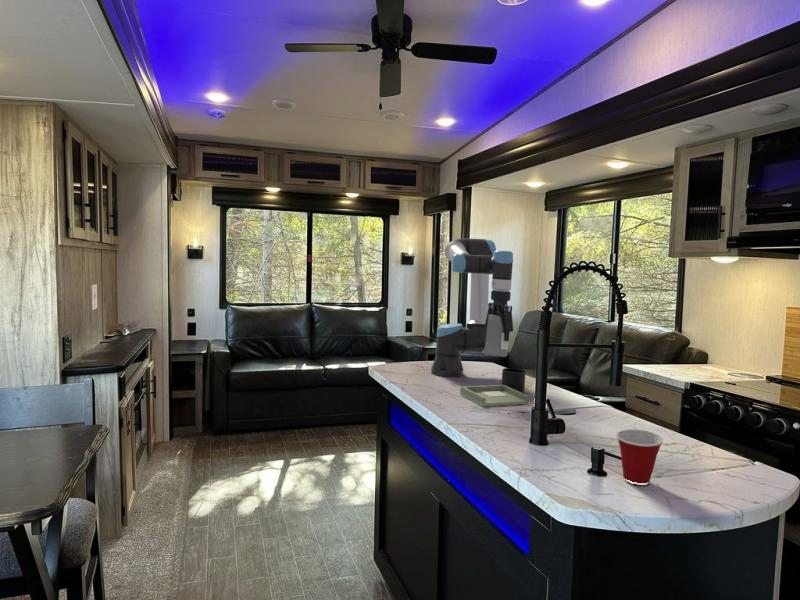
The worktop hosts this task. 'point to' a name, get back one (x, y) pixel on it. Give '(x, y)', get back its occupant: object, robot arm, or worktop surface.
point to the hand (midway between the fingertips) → (497, 346)
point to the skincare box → (494, 337)
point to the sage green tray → (493, 395)
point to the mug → (514, 378)
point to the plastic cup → (638, 453)
